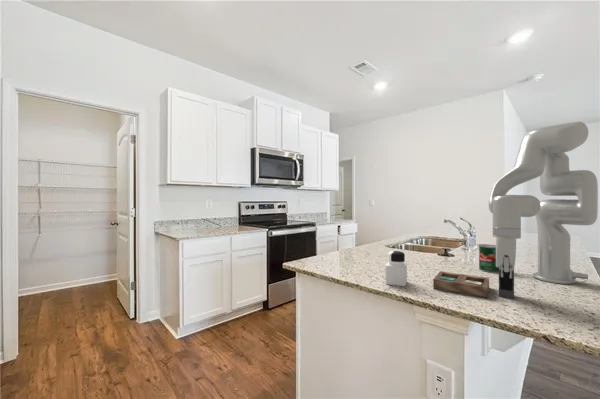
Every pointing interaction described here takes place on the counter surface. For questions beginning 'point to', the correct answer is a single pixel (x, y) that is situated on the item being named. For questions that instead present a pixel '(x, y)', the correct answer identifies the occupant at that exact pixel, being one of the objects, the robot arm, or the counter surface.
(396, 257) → the medicine bottle
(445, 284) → the socket block
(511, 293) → the plug
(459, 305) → the counter surface
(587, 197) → the robot arm
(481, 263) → the canned tomato
